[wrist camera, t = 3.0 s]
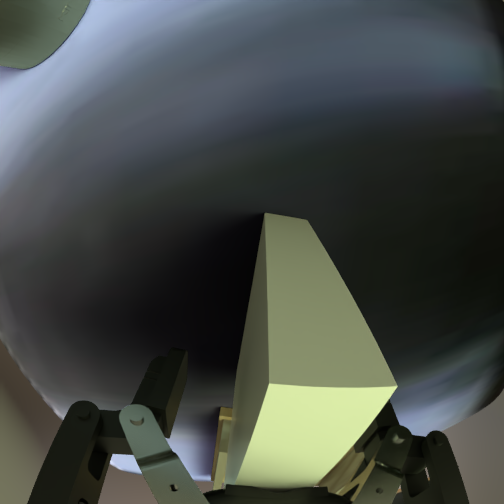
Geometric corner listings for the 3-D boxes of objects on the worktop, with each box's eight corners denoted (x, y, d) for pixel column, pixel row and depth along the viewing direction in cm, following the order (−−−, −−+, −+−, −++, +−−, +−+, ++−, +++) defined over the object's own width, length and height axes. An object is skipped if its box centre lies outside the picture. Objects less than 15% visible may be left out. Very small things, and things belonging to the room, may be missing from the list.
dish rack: (211, 474, 28) (207, 501, 23) (220, 406, 21) (214, 448, 17) (324, 479, 28) (327, 504, 24) (384, 412, 21) (396, 446, 17)
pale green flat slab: (236, 370, 19) (220, 520, 8) (264, 212, 15) (269, 383, 4) (268, 374, 20) (268, 523, 8) (306, 219, 15) (397, 386, 4)
